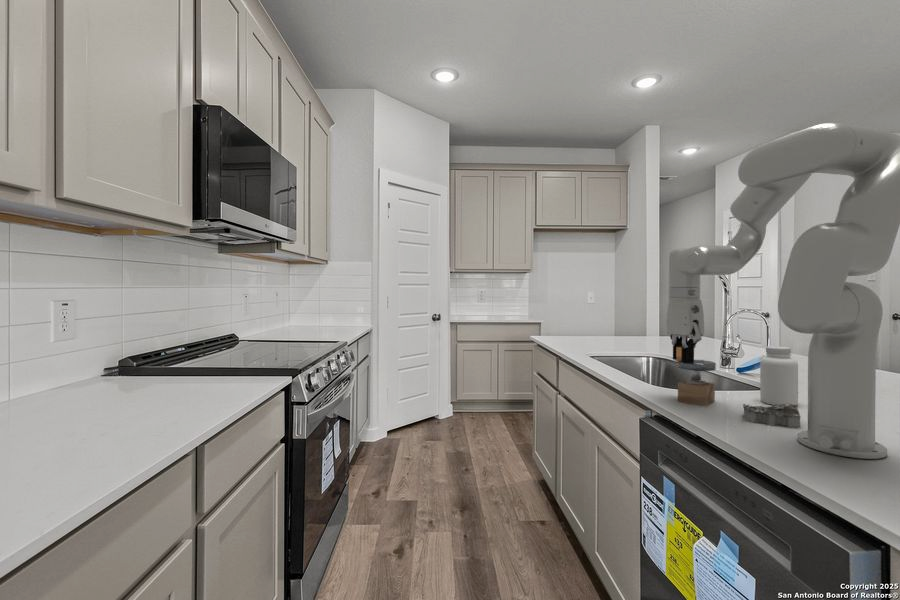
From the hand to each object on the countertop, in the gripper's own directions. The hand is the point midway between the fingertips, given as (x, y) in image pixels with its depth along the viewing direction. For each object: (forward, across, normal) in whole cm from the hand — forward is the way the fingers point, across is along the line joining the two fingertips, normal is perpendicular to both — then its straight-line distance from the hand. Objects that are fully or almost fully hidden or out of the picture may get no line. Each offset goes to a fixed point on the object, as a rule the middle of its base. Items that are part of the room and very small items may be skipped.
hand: (683, 360), depth 116 cm
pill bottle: (+11, -6, -23) cm, 26 cm away
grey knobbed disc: (+5, -1, -3) cm, 6 cm away
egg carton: (+11, -19, -9) cm, 24 cm away
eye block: (+11, -1, -3) cm, 12 cm away
